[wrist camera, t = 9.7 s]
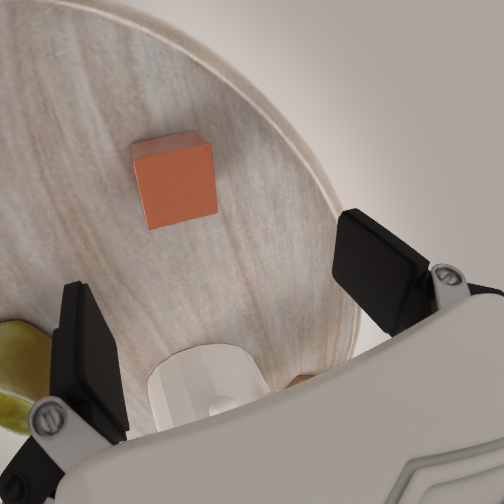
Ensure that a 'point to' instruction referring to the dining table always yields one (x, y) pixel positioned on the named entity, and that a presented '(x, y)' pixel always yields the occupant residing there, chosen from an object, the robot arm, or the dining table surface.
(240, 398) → the decorative object
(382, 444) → the robot arm
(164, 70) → the dining table surface
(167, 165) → the block
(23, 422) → the mug
